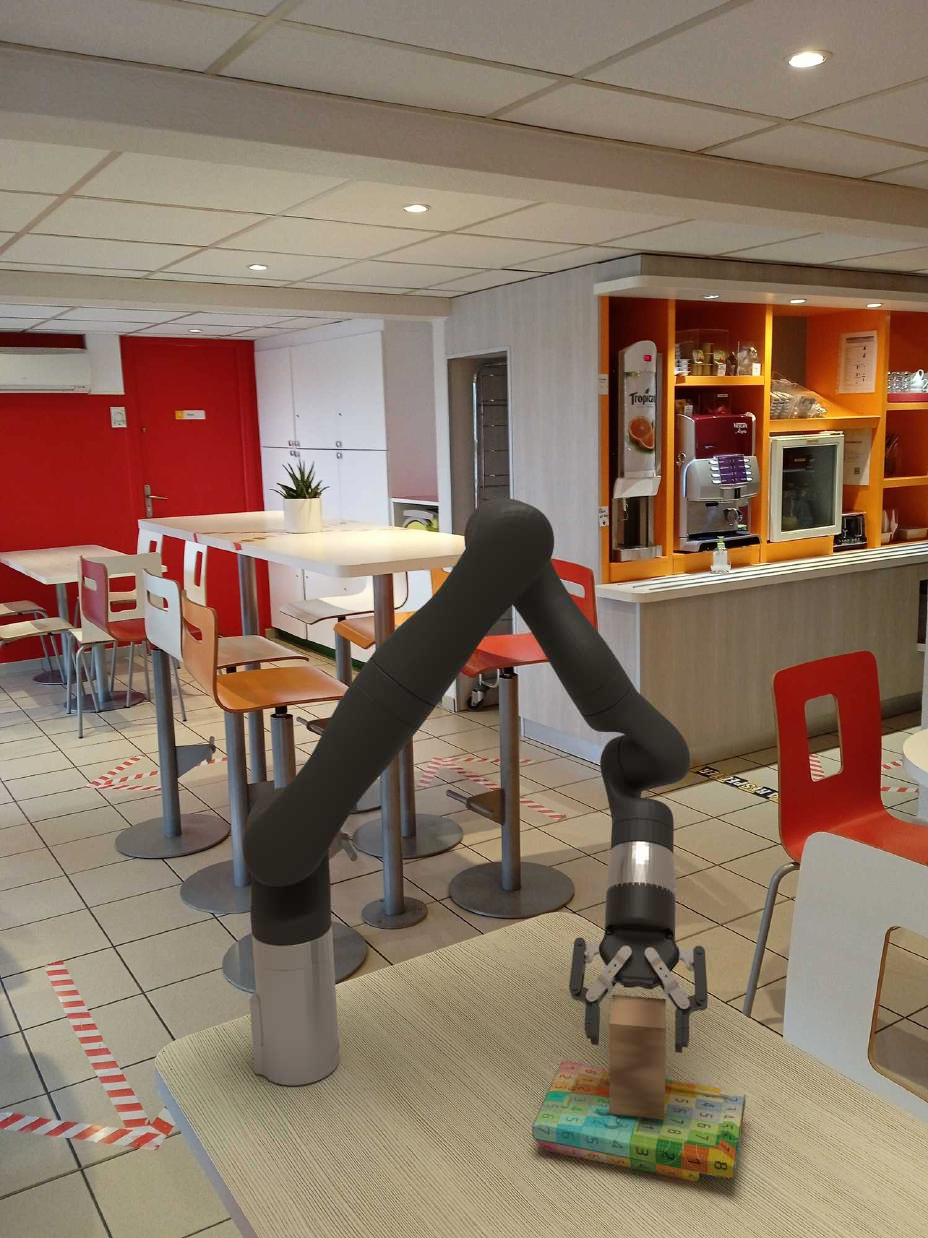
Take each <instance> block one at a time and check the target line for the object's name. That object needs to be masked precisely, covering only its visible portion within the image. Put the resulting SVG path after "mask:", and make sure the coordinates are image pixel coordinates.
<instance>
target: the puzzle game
mask: <svg viewBox="0 0 928 1238" xmlns="http://www.w3.org/2000/svg"><path fill="white" fill-rule="evenodd" d="M558 1066H559V1067H558V1068H557V1071H556V1073H555V1075H554V1077H553V1080H552V1082H551V1084H550V1086H549V1089H548V1091H547V1094H546V1096H545V1098H544V1100H543V1102H542V1104H541V1107H540V1108H539V1111H538V1113H537V1115H536V1117H535V1120H534V1121H533V1124H532V1127H531V1128H532V1129H531V1130H532V1131H531V1132H532V1133H531V1134H532V1138H533V1139H534V1140H535V1142H536V1143H538V1144H539V1146H541V1148H543V1149H544V1150H545V1151H546V1152H550V1153H556V1154H559V1155H564V1156H569V1157H574V1158H579V1159H584V1160H589V1161H593V1162H598V1163H602V1162H604V1164H608V1165H611V1166H612V1165H614V1166H617V1167H623V1168H627V1169H632V1170H637V1171H641V1172H647V1173H650V1174H657V1175H662V1176H666V1177H669V1178H670V1177H671V1178H675V1179H676V1178H677V1179H680V1180H685V1181H690V1182H697V1181H699V1179H700V1176H701V1174H704V1175H708V1176H714V1177H719V1178H724V1179H730V1178H735V1176H736V1169H737V1162H738V1155H739V1150H740V1149H739V1148H740V1142H741V1136H742V1129H743V1122H744V1116H745V1115H744V1114H745V1109H746V1093H743V1092H738V1091H732V1090H726V1089H722V1088H716V1087H711V1086H705V1085H699V1084H694V1083H691V1082H690V1083H688V1082H684V1081H679V1080H678V1081H677V1080H673V1079H667V1078H665V1113H664V1119H654V1118H645V1117H635V1116H626V1115H616V1114H609V1067H604V1066H603V1067H602V1066H599V1065H592V1064H588V1063H581V1062H578V1061H577V1062H576V1061H571V1060H565V1061H561V1062H560V1065H558Z"/></svg>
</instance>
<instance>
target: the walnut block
mask: <svg viewBox="0 0 928 1238" xmlns="http://www.w3.org/2000/svg"><path fill="white" fill-rule="evenodd" d="M666 1005H667V999H666V998H658V997H657V998H656V997H645V996H632V995H620V994H619V995H618V994H612V997H611V1005H610V1006H611V1007H610V1014H609V1024H608V1025H609V1027H608V1029H609V1032H608V1034H609V1035H608V1036H609V1037H608V1039H609V1040H608V1041H609V1042H608V1045H609V1046H608V1047H609V1048H608V1049H609V1053H608V1054H609V1055H608V1056H609V1058H608V1059H609V1061H608V1068H609V1114H616V1115H626V1116H635V1117H645V1118H654V1119H664V1113H665V1079H666V1036H667V1035H666V1032H667V1031H666V1026H667V1025H666V1024H667V1023H666V1021H667V1019H666V1018H667V1017H666V1016H667V1011H666V1010H667V1009H666V1008H667V1006H666Z"/></svg>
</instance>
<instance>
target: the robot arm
mask: <svg viewBox="0 0 928 1238" xmlns="http://www.w3.org/2000/svg"><path fill="white" fill-rule="evenodd" d="M547 517H548V516H546V515H545V514H544V513H543V512H542V511H541V510H540V509H538V508H537V507H534V506H533V505H531V504H529V503H526V502H523V501H521V500H517V499H515V498H514V499H513V498H507V497H503V498H502V497H501V498H494V499H490V500H487V501H485V502H483V503H481V504H480V505H478V506H477V507H476V508H475V509H474V510H473V512H472V513H471V514H470V515H469V518H468V519H467V520H466V524H465V528H464V535H463V538H464V540H463V541H464V547H465V549H464V551H463V552H462V553H461V555H460V556H459V559H458V560H457V562H456V563H455V565H454V567H453V568H452V569H451V571H450V572H449V574H448V575H447V577H446V579H445V580H444V581H443V583H442V584H441V585H440V587H439V588H438V589H437V591H436V592H435V593H434V594H433V595H432V596H431V597H430V599H428V600H427V602H425V604H424V605H422V606H421V607H420V608H419V609H417V611H415V612H414V613H413V614H412V615H411V616H409V617H408V618H407V619H406V620H404V621H403V622H402V623H401V624H400V625H399V626H398V627H397V628H396V629H394V631H393V632H392V633H390V634H389V635H388V636H387V637H386V639H385V640H384V641H383V642H382V643H381V644H380V645H379V646H378V647H377V648H376V650H375V651H374V652H373V654H371V656H370V658H369V659H367V661H366V662H365V663H364V665H363V667H361V669H360V671H359V672H358V673H357V674H356V676H355V677H354V679H352V682H351V683H350V684H349V686H348V688H347V689H346V690H345V692H344V694H343V696H342V697H341V699H339V700H340V701H339V702H338V704H337V705H336V707H335V709H334V711H333V713H332V715H331V717H329V720H328V722H327V724H326V726H325V728H324V730H323V732H322V733H321V736H320V737H319V739H318V742H317V744H316V745H315V748H314V750H313V751H312V752H311V755H310V756H309V758H308V759H307V760H306V762H305V763H304V764H303V767H302V768H301V769H300V770H299V772H297V774H296V775H295V776H294V777H293V779H292V780H291V781H290V782H289V784H287V785H286V786H282V787H277V788H273V789H272V790H270V791H268V792H265V793H264V794H263V795H262V796H261V797H260V798H258V800H256V802H255V803H254V805H253V806H252V808H251V810H250V813H249V814H248V817H247V821H246V822H247V823H246V824H245V825H246V826H245V828H244V832H243V835H242V836H243V837H242V855H243V859H244V862H245V866H246V867H247V870H248V872H249V873H250V884H251V885H250V886H251V887H250V911H249V912H250V927H251V928H250V929H251V937H252V938H251V940H252V941H251V942H252V952H253V966H254V968H253V969H254V979H255V991H254V993H253V994H252V995H251V996H250V998H249V1008H250V1009H249V1012H250V1022H251V1023H250V1024H251V1038H252V1052H253V1066H254V1074H255V1075H261V1076H264V1078H265V1079H267V1080H269V1081H271V1082H273V1083H274V1084H278V1085H283V1086H302V1085H308V1084H312V1083H315V1082H318V1081H320V1080H322V1079H324V1078H326V1077H328V1076H329V1075H330V1074H331V1073H333V1072H334V1070H336V1068H337V1067H338V1065H339V1062H340V1040H339V1027H338V1023H339V1022H338V1009H337V1008H338V1007H337V990H336V973H335V972H336V971H335V957H334V944H333V943H334V941H333V939H334V938H333V926H332V895H331V893H332V891H331V890H332V888H331V887H332V886H331V885H332V884H331V873H330V871H331V870H330V852H329V849H330V847H331V846H332V844H333V842H334V841H335V839H336V837H337V836H338V834H339V832H340V831H341V830H342V827H343V826H344V824H345V823H346V821H347V820H348V817H349V816H350V815H351V813H352V812H353V810H354V809H355V807H356V806H357V804H358V803H359V801H360V800H361V799H362V797H363V795H365V794H366V792H367V791H368V790H369V789H370V787H372V785H373V784H374V783H375V782H376V781H377V780H378V779H379V778H380V776H381V775H382V774H383V773H384V772H385V770H386V769H387V768H388V767H389V766H390V764H392V762H393V761H394V760H395V759H396V758H397V756H398V755H399V754H400V753H401V751H403V749H404V748H405V746H407V744H408V743H409V741H410V740H411V739H412V738H413V736H414V735H416V733H417V732H418V731H419V729H420V728H421V727H422V726H423V724H424V723H425V722H426V721H427V719H428V717H429V716H430V715H431V714H432V712H433V711H434V710H435V709H436V707H437V706H438V705H439V703H440V702H441V700H442V699H443V698H444V696H445V694H446V693H447V691H449V689H450V687H451V686H452V684H453V683H455V680H456V679H457V678H458V676H459V675H460V674H461V672H462V671H463V669H464V668H465V666H466V665H467V664H468V662H469V660H470V659H471V658H472V656H473V654H474V653H475V651H476V650H477V648H478V647H479V645H480V644H481V643H482V641H483V639H484V638H485V637H486V636H487V634H488V633H489V632H490V630H491V629H493V626H494V625H495V624H496V623H498V621H499V620H500V619H501V618H502V617H503V615H504V614H505V613H506V612H508V610H509V609H510V608H511V607H512V606H513V607H514V609H515V610H516V612H517V613H518V615H519V616H520V618H521V619H522V620H523V622H524V624H525V625H526V626H527V628H528V629H529V631H530V632H531V634H532V635H533V637H534V639H535V641H536V642H537V644H538V646H539V648H541V650H542V653H543V654H544V656H545V657H546V659H547V660H548V663H549V664H550V666H551V667H552V669H553V670H554V671H553V672H555V674H556V676H557V678H558V680H559V681H560V683H561V684H562V686H563V688H564V690H565V691H566V693H567V694H568V696H569V699H570V700H571V701H572V703H573V704H574V706H575V707H576V709H577V710H578V713H580V715H581V717H582V719H583V720H584V721H585V723H586V724H587V725H588V726H589V727H590V728H591V729H592V730H594V731H595V732H598V733H620V734H622V735H619V736H616V737H614V738H612V739H610V740H609V741H608V742H607V743H606V745H605V746H604V748H603V750H602V752H601V755H600V760H599V761H600V762H599V764H600V767H599V768H600V774H601V777H602V780H603V785H604V787H605V793H606V797H607V802H608V807H609V812H610V817H611V833H610V836H611V837H610V838H611V839H610V852H609V854H610V855H609V861H608V865H607V873H606V892H605V893H606V894H605V910H604V911H605V916H604V931H603V932H604V933H603V937H602V939H601V941H600V942H592V941H586V940H585V939H584V937H579V936H578V937H577V938H575V939H574V942H573V951H572V957H571V958H572V959H571V968H570V974H569V975H570V977H569V985H568V990H569V993H570V996H571V998H572V999H573V1001H579V1002H581V1003H583V1005H584V1006H585V1013H584V1028H583V1029H584V1033H585V1035H586V1039H590V1043H591V1046H592V1045H594V1046H599V1044H600V1026H601V1006H600V1004H601V1003H602V1002H603V1000H605V998H606V997H607V995H608V994H610V993H611V992H612V991H613V990H614V989H615V987H616V986H618V984H619V985H621V986H623V988H629V989H633V988H637V987H638V988H642V989H645V990H654V989H655V988H659V987H660V989H661V990H662V992H663V993H664V994H665V995H666V997H667V999H669V1000H670V1002H671V1003H672V1004H673V1006H674V1007H675V1008H676V1009H675V1011H674V1013H675V1016H674V1018H675V1019H674V1020H675V1021H674V1034H675V1035H674V1037H675V1038H674V1049H675V1050H674V1052H675V1053H677V1054H678V1053H679V1054H682V1053H683V1048H688V1046H689V1044H690V1016H691V1014H693V1013H695V1012H698V1011H705V1010H706V1009H708V999H709V998H708V996H709V995H708V982H707V981H708V977H707V962H706V949H705V948H704V947H703V946H702V945H696V946H694V947H693V948H679V946H678V945H677V943H676V895H677V887H676V885H677V883H676V881H677V880H676V877H677V875H676V870H675V869H676V868H675V866H676V865H675V862H674V861H675V860H674V859H675V857H674V843H675V842H674V841H675V840H674V838H675V837H674V835H675V834H674V832H675V831H674V830H675V825H674V824H675V822H674V821H675V820H674V815H673V812H672V810H671V808H670V807H669V806H668V805H667V803H664V802H662V801H660V800H657V799H653V798H649V797H648V798H647V797H642V792H644V791H648V790H649V791H650V790H652V789H657V788H661V787H665V786H669V785H673V784H675V783H678V782H680V781H681V780H683V779H684V778H685V777H686V776H687V774H688V772H689V771H690V765H691V754H690V749H689V747H688V745H687V742H686V740H685V738H684V736H683V735H682V733H681V732H680V731H679V730H678V728H677V727H676V726H675V725H674V724H673V723H672V722H671V721H670V720H668V718H666V716H664V714H663V713H661V712H660V711H659V710H658V709H657V708H656V707H654V705H652V703H651V702H649V700H648V699H646V698H645V697H644V696H643V695H642V694H641V693H640V692H639V691H637V689H636V687H635V685H634V684H633V683H632V681H631V679H630V677H629V675H628V674H627V672H626V671H625V669H624V668H623V666H622V664H621V663H620V661H619V660H618V658H617V657H616V655H615V653H614V652H613V651H612V649H611V648H610V646H609V644H607V642H606V641H605V639H604V638H603V636H602V635H601V634H600V633H599V632H598V630H597V629H596V628H595V626H594V625H593V624H592V622H591V621H590V619H589V618H587V616H586V615H585V614H584V612H583V611H582V609H581V608H580V607H579V606H578V604H577V603H576V601H575V600H574V598H573V597H572V595H571V594H570V592H569V591H568V590H567V588H566V587H565V585H564V583H563V582H562V580H561V578H560V576H559V574H558V572H557V571H556V568H555V567H554V565H553V562H552V557H553V553H554V548H555V535H554V530H553V526H552V524H551V522H550V521H549V520H550V519H548V518H547ZM596 955H599V956H600V958H601V960H602V961H603V963H604V964H605V968H604V969H603V970H602V971H601V973H600V974H599V975H598V977H597V978H596V980H595V982H593V984H592V985H591V986H590V988H587V987H585V986H584V984H585V974H586V965H588V964H591V963H592V962H593V960H594V958H595V956H596ZM680 961H683V963H684V964H685V968H686V969H687V970H688V971H689V972H693V980H694V981H693V983H694V994H691V995H690V996H687V995H686V994H685V993H684V991H683V990H682V988H681V986H680V985H679V983H678V981H677V980H676V978H675V977H674V975H673V974H672V971H673V969H675V967H676V966H677V965H678V964H679V962H680Z"/></svg>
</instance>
